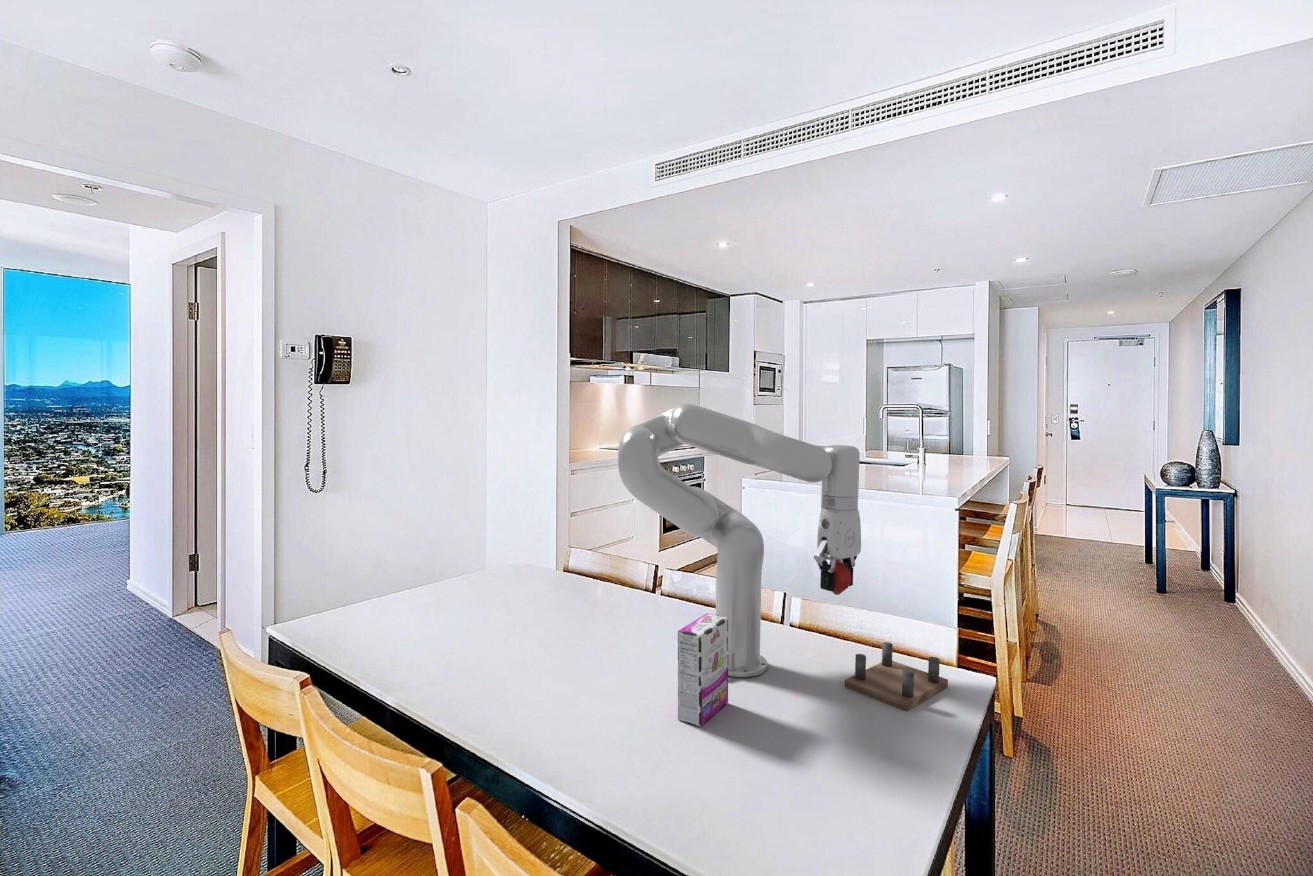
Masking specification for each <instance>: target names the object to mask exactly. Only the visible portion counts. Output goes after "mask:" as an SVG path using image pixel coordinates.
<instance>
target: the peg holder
mask: <svg viewBox="0 0 1313 876" xmlns="http://www.w3.org/2000/svg"><path fill="white" fill-rule="evenodd" d="M881 649H882V652H881V662H879V663H877V664H875V665H873V666H871V667H869V668H867V656H866V655H865V654H863V653H856V654H855V661H854V662H855V663H854V675H851V676H850V677H848V678H845V679H844V687H845V688H847V689H849V688H850V689H849V690H851V689H852V690H851V691H854V692H857V693H859V694H862V695H865V696H867V695H868V696H867V697H869V696H870V698H872V697H873V698H872V699H874V698H875V699H874V700H877V699H878V701H879V702H882V701H883V702H882V703H885V704H888V705H890V706H892V707H896V708H898V709H901V710H902V711H905V712H908V711H909V710H911V709H913V708H914V706H915V707H916V706H918V705H919V704H921V703H923V702H924V701H926V700H928V699H930V698H931V696H932V697H933V696H934V695H936V694H938V693H940V692H942V691H943V690H945V689H948V687H949V679H948V678H944V677H941V676H940V666H941V665H940V660H941V659H940V658H939V657H936V656H929V657H928V667H927V668H928V671H924V670H921V669H918V668H915V667H912V666H909V665H906V664H903V663H899V662H897V661H894V660H893V643H891V642H889V641H888V642H887V641H884V642H882V647H881ZM866 668H867V669H866ZM929 697H930V698H929ZM917 704H918V705H917Z"/></svg>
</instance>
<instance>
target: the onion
mask: <svg viewBox="0 0 1313 876" xmlns="http://www.w3.org/2000/svg"><path fill="white" fill-rule="evenodd" d="M833 572H835V590H834V591H832V592H831V593H833V594H834V596H835V595H836V596H839V595H841V593H843V592H844V591H846V590H847V589H849V587H851V586H850V584H851V573H850V571H849V569H848V568H847V567H846V566H845V565H844V564H843V563H842V562H841V560H836V562H835V566H834V570H833Z"/></svg>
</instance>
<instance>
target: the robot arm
mask: <svg viewBox="0 0 1313 876" xmlns="http://www.w3.org/2000/svg"><path fill="white" fill-rule="evenodd" d="M683 445H687V446H688V447H689V446H690V447H693V448H696V449H699V450H702V451H706V452H709V453H712V454H715V455H719V456H721V457H723V458H727V459H730V460H733V461H737V462H739V463H741V464H746V465H751V466H756V467H760V468H763V469H766V470H769V471H773V472H775V473H778V474H782V475H785V476H787V477H791V478H793V479H797V480H801V481H803V482H806V483H810V484H811V483H813V484H815V483H820V482H821V498H820V499H821V500H820V509H821V510H820V513H819V514H820V515H819V520H818V528H817V536H816V537H817V540H816V541H817V542H816V549H817V550H816V551H815V553H814V555H813V559H814V560H815V562H816V563H817V566H818V569H819V571H820V586H819V588H820V589H821V590H825V591H827V592H831V593H833V592H832V591H834V590H835V572H833V570H834V566H835V562H836V560H841V562H842V563H843V564H844V565H845V566H846V567H847V568H848V569H849V571H850V573H851V584H850V586H849V587H852V586H853V585H854V568H855V567H856V560H857V558H858V555H859V554H860V553H861V551H862V527H861V517H860V511H859V486H860V484H859V482H860V453H861V452H860V450H859V448H857V447H856V446H853V445H846V444H845V445H844V444H842V445H841V444H835V445H834V444H833V445H832V444H830V445H827V446H826V445H816V444H812V443H809V442H806V441H803V440H799V439H797V438H793V437H790V436H787V435H783V434H781V433H778V432H775V431H772V430H769V429H767V428H765V427H762V426H760V425H759V424H756V423H752V422H751V421H747V420H744V419H740V418H738V417H735V416H732V415H731V416H730V415H728V414H726V413H721V412H718V411H716V410H712V409H710V408H706V407H702V406H700V405H696V404H692V403H682V404H678V405H676V406H674V407H672V408H671V409H668V410H665V411H664V412H662V413H661V414H658V415H656V416H654V417H651V418H649V419H647V420H645V421H643V422H640V423H639V424H636V425H634V426H631V427H630V428H627V430H625V431H624V432H623V434H622V436H621V437H620V440H619V444H618V451H617V467H618V472H619V477H620V479H621V481H622V483H623V486H624V487H625V488H626V489H627V491H628V492H629V493H630V494H631V495H632V496H633V497H634V498H635V499H636V500H638V501H639V502H641V503H642V504H644V506H646V507H648V508H649V509H651V510H652V511H654V512H655V513H656V514H657V515H659V516H661V517H663V518H664V519H665V520H667V521H669V523H672V524H673V525H675V526H676V527H677V528H679V529H680V530H682V531H683V532H684V533H685V534H688V535H690V536H695V537H699V538H702V539H703V540H704V541H705V542H708V543H709V544H710V545H712V546H714V548H716V551H717V558H716V559H717V560H716V563H717V564H716V575H715V615H719V616H723V617H728V677H733V678H749V677H755V676H760V675H762V674H763V673H764V672H766V671H767V669H768V661H767V659H766V658H765V656H763V655H761V615H762V576H763V575H762V573H763V563H764V556H765V543H764V542H765V541H764V538H763V535H762V533H761V530H760V529H759V528H758V526H757V525H756V524H754V523H753V521H751V520H750V519H749V518H748V517H746V515H744V514H743V513H741V512H740V511H738V510H736V509H735V508H733V507H732V506H730V505H728V504H727V503H725V502H724V501H722V500H721V499H719V498H718V497H716V496H714V495H713V494H711V493H710V492H708V491H707V490H705V489H703V488H701V487H697V486H691V485H689V484H687V483H686V482H684V481H682V480H681V479H680V478H679V477H677V476H676V475H674V474H673V473H671V472H670V471H668V470H666V469H665V468H664V467H663V466H662V465H661V462H660V461H659V457H660V456H662V455H665V454H668V453H669V452H671V451H673V450H676V449H678V448H679V447H681V446H683ZM828 561H829V562H828Z"/></svg>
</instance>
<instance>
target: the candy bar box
mask: <svg viewBox="0 0 1313 876" xmlns="http://www.w3.org/2000/svg"><path fill="white" fill-rule="evenodd" d="M728 703H729V676H728V617H723V616H719V615H716V614H713V613H705V614H703V615H701V616H700V617H699V618H697V619H695V620H693V621H692V622H690V623H689V624H687V625H685V626H683V627H681V628H680V629H679V630H677V709H678V710H677V714H678V716H677V717H678V719H677V720H678V721H680V722H682V723H685V724H688V725H693V726H695V727H696V726H697V727H699V728H701V727H703V726H704V725H705V724H706V723H707V722H708V721H709V720H710V719H712V718H713V716H715V715H716V714H717V713H718V712H719V711H720V710H721V709H722V708H723V707H725V706H726V704H728Z"/></svg>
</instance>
